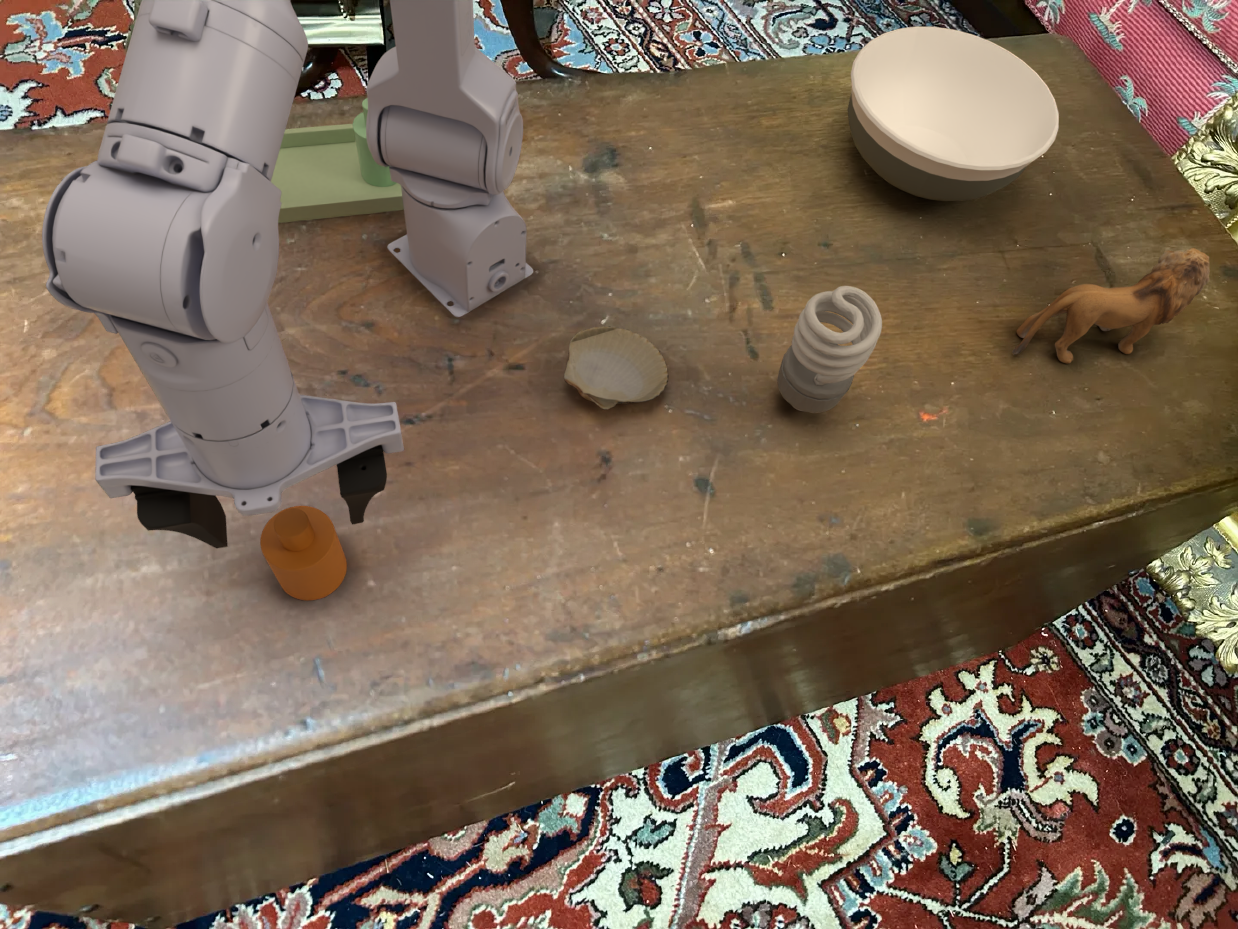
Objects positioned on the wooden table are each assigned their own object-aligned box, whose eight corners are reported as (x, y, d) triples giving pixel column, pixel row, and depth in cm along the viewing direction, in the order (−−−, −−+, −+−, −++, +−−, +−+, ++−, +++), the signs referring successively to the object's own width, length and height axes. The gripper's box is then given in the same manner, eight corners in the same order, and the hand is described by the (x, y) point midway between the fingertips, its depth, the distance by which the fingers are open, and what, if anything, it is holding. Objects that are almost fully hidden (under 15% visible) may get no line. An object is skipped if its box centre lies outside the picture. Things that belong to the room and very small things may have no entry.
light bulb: (838, 437, 70) (896, 341, 59) (767, 432, 69) (813, 334, 59) (831, 377, 72) (885, 276, 62) (762, 372, 72) (805, 269, 62)
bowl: (865, 248, 80) (900, 176, 73) (797, 106, 89) (822, 29, 82) (1049, 227, 84) (1099, 157, 77) (965, 93, 93) (1004, 19, 86)
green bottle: (412, 175, 78) (404, 107, 72) (377, 193, 76) (366, 125, 70) (387, 151, 79) (377, 82, 73) (352, 168, 77) (339, 99, 71)
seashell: (671, 392, 72) (606, 317, 73) (689, 372, 70) (621, 296, 70) (603, 443, 67) (534, 363, 68) (619, 424, 65) (547, 341, 66)
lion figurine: (1130, 300, 80) (1196, 226, 73) (1166, 346, 78) (1239, 275, 70) (993, 334, 77) (1048, 261, 69) (1027, 384, 74) (1088, 314, 66)
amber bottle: (360, 573, 60) (344, 527, 54) (302, 614, 58) (278, 571, 52) (322, 527, 61) (302, 477, 55) (264, 565, 60) (237, 518, 53)
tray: (467, 132, 82) (467, 113, 80) (486, 205, 78) (486, 187, 76) (244, 152, 78) (238, 132, 76) (251, 230, 73) (245, 211, 72)
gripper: (53, 491, 38) (158, 607, 50) (400, 436, 41) (423, 558, 53) (58, 358, 42) (156, 497, 53) (380, 316, 45) (406, 456, 56)
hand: (289, 520), depth 53 cm, fingers open, 7 cm apart
